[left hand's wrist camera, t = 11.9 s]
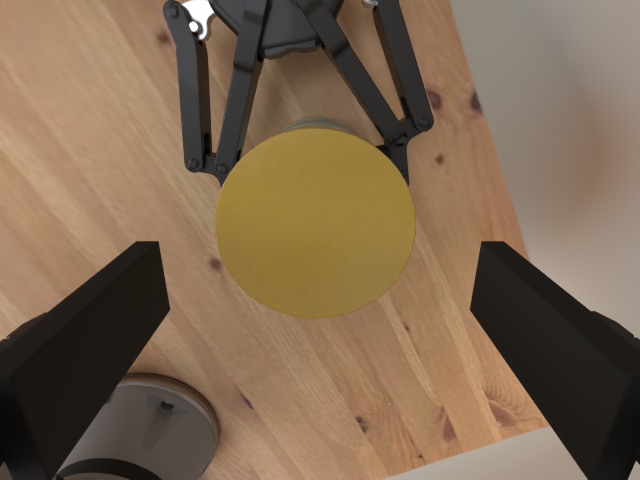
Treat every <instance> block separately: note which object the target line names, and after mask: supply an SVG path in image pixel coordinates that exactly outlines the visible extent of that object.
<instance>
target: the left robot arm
mask: <svg viewBox="0 0 640 480" xmlns="http://www.w3.org/2000/svg"><path fill="white" fill-rule="evenodd" d="M169 311H170V306H169V300H168V294H167V288H166V283H165V277H164V271H163V265H162V259H161V253H160V248H159V242H158V241H136V242H135V243H134V244H133V245H131V246H130V247H129V248H128V249H126V250H125V251H124V252H123V253H121V254H120V255H119V256H118V257H116V258H115V259H114V260H113V261H111V262H110V263H109V264H108V265H106V266H105V267H104V268H103V269H101V270H100V271H99V272H98V273H96V274H95V275H94V276H93V277H91V278H90V279H89V280H88V281H86V282H85V283H84V284H83V285H81V286H80V287H79V288H78V289H76V290H75V291H74V292H73V293H71V294H70V295H69V296H68V297H66V298H65V299H64V300H63V301H61V302H60V303H59V304H58V305H56V306H55V307H54V308H53V309H51V310H50V311H49V312H48V313H44V314H42V315H40V316H38V317H36V318H34V319H32V320H30V321H28V322H26V323H24V324H22V325H21V326H20V327H18V328H17V329H16V330H15V331H13V332H12V333H11V334H9V335H8V336H7V339H3V340H2V341H0V480H198V479H199V477H201V476H202V474H203V473H204V471H205V470H206V469H207V468H208V466H209V464H210V463H211V461H212V459H213V457H214V454H215V450H216V447H217V443H218V440H219V424H218V420H217V417H216V415H215V413H214V411H213V409H212V408H211V406H210V405H209V404H208V402H207V401H206V400H205V399H204V398H203V397H202V396H201V395H200V394H199V393H197V392H196V391H195V390H193V389H192V388H190V387H188V386H187V385H185V384H183V383H181V382H179V381H176V380H174V379H171V378H168V377H164V376H160V375H154V374H129V375H125V374H126V373H127V371H128V370H129V368H130V367H131V365H132V364H133V362H134V361H135V360H136V358H137V357H138V355H139V354H140V352H141V351H142V350H143V348H144V347H145V345H146V344H147V342H148V341H149V339H150V338H151V337H152V335H153V334H154V332H155V331H156V329H157V328H158V327H159V325H160V324H161V322H162V321H163V319H164V318H165V316H166V315H167V314H168V312H169ZM470 311H471V312H472V314H473V315H474V316H475V318H476V319H477V321H478V322H479V324H480V325H481V327H482V328H483V329H484V331H485V332H486V334H487V335H488V337H489V338H490V339H491V341H492V342H493V344H494V345H495V347H496V348H497V350H498V351H499V352H500V354H501V355H502V357H503V358H504V360H505V361H506V362H507V364H508V365H509V367H510V368H511V370H512V371H513V373H514V374H515V375H516V377H517V378H518V380H519V381H520V383H521V384H522V385H523V387H524V388H525V390H526V391H527V393H528V394H529V396H530V397H531V398H532V400H533V401H534V403H535V404H536V406H537V407H538V408H539V410H540V411H541V413H542V414H543V416H544V417H545V419H546V420H547V421H548V423H549V424H550V426H551V427H552V429H553V430H554V431H555V433H556V434H557V436H558V437H559V438H560V440H561V441H562V443H563V444H564V446H565V447H566V449H567V450H568V452H569V453H570V454H571V456H572V457H573V459H574V460H575V462H576V463H577V465H578V466H579V467H580V469H581V470H582V472H583V473H584V475H585V476H586V477H587V479H588V480H628V477H629V475H630V473H631V471H632V468H633V466H634V464H635V461H637V462H638V463H639V464H640V340H639V339H638V338H634V335H633V334H632V333H630V332H629V331H628V330H626V329H625V328H624V327H622V326H621V325H620V324H619V323H617V322H616V321H614V320H611V319H610V318H608V317H605V316H604V315H602V314H600V313H598V312H596V311H590V310H589V309H587V308H586V307H585V306H584V305H582V304H581V303H580V302H579V301H577V300H576V299H575V298H574V297H572V296H571V295H570V294H569V293H567V292H566V291H565V290H564V289H562V288H561V287H560V286H559V285H557V284H556V283H555V282H554V281H552V280H551V279H550V278H549V277H547V276H546V275H545V274H544V273H542V272H541V271H540V270H539V269H537V268H536V267H535V266H534V265H532V264H531V263H530V262H529V261H527V260H526V259H525V258H524V257H522V256H521V255H520V254H519V253H517V252H516V251H515V250H514V249H512V248H511V247H510V246H509V245H507V244H506V243H505V242H504V241H482V242H481V248H480V253H479V259H478V265H477V271H476V277H475V283H474V288H473V294H472V300H471V306H470ZM58 470H59V471H58Z"/></svg>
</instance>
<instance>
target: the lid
mask: <svg viewBox="0 0 640 480" xmlns="http://www.w3.org/2000/svg"><path fill="white" fill-rule="evenodd" d="M415 232H416V216H415V208H414V203H413V200H412V196H411V193H410V190H409V188H408V186H407V183H406V181H405V180H404V178H403V176H402V175H401V173H400V171H399V170H398V169H397V167H396V166H395V165H394V164H393V163H392V161H391V160H390V159H389V158H388V157H387V156H385V155H384V154H383V153H382V152H381V151H380V150H379V149H378V148H376V147H375V146H374V145H373V144H371V143H370V142H368V141H367V140H365V139H364V138H362V137H360V136H358V135H356V134H354V133H351V132H348V131H345V130H342V129H339V128H334V127H328V126H302V127H297V128H292V129H288V130H285V131H282V132H280V133H277V134H274V135H273V136H271V137H269V138H267V139H265V140H263V141H262V142H261V143H259V144H258V145H257V146H255V147H254V148H253V149H251V150H250V151H249V152H248V153H247V154H246V155H245V156H244V157H243V158H242V159H241V160H240V161H239V162H238V163H237V164H236V165H235V167H234V168H233V169H232V170H231V172H230V173H229V175H228V177H227V178H226V180H225V182H224V184H223V186H222V189H221V191H220V194H219V197H218V201H217V205H216V210H215V236H216V241H217V246H218V249H219V252H220V255H221V258H222V260H223V262H224V264H225V266H226V268H227V270H228V271H229V273H230V274H231V276H232V277H233V279H234V280H235V281H236V282H237V283H238V285H239V286H240V287H241V288H242V289H243V290H244V291H245V292H247V293H248V294H249V295H250V296H251V297H252V298H254V299H255V300H257V301H258V302H260V303H261V304H263V305H265V306H267V307H269V308H271V309H273V310H276V311H278V312H281V313H284V314H287V315H291V316H295V317H302V318H330V317H335V316H340V315H344V314H347V313H350V312H353V311H355V310H358V309H360V308H362V307H364V306H366V305H368V304H369V303H371V302H373V301H374V300H376V299H377V298H378V297H380V296H381V295H382V294H383V293H384V292H385V291H386V290H387V289H389V288H390V287H391V286H392V284H393V283H394V282H395V281H396V279H397V278H398V277H399V276H400V274H401V272H402V271H403V269H404V267H405V266H406V263H407V261H408V259H409V257H410V254H411V251H412V248H413V244H414V239H415Z"/></svg>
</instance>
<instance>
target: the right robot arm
mask: <svg viewBox="0 0 640 480" xmlns="http://www.w3.org/2000/svg"><path fill="white" fill-rule="evenodd" d="M343 2H344V0H191V1H188V2H185V3H182V4H180V3H179V2H177V1H175V0H169V1H167V2H166V3H165V5H164V6H163V14H164V17H165V20H166V22H167V25H168V27H169V30H170V32H171V35H172V37H173V40H174V43H175V45H176V52H177V66H178V80H179V94H180V107H181V121H182V135H183V149H184V162H185V167H186V168H187V169H188V170H189V171H190V172H194V173H196V172H203V173H209V174H212V175H214V176H215V177H217V179H218V180H219V182H220V186H221V189H222V186H223V184H224V182H225V180H226V178H227V177H228V175H229V173H230V172H231V170H232V169H233V168H234V167H235V165H236V164H237V163H238V162H239V161H240V158H241V154H242V149H243V145H244V140H245V136H246V132H247V127H248V123H249V118H250V114H251V110H252V105H253V101H254V96H255V92H256V88H257V83H258V79H259V75H260V73H261V70H262V66H263V62H264V58H268V59H269V60H271V59H276V58H281V57H283V56H285V55H287V54H289V53H291V52H300V53H307V52H312V51H316V49H317V48H319V47H320V46H321V47H322V49H323V50H324V52H325V53H326V55H327V56H328V58H329V59H330V60H331V61H332V63H333V64H334V66H335V67H336V69H337V70H338V72H339V73H340V75H341V76H342V78H343V79H344V81H345V82H346V84H347V85H348V87H349V88H350V90H351V91H352V93H353V94H354V96H355V97H356V99H357V100H358V102H359V103H360V105H361V106H362V108H363V109H364V111H365V112H366V114H367V115H368V117H369V118H370V120H371V121H372V123H373V124H374V126H375V127H376V129H377V130H378V132H379V133H380V135H381V136H382V138H383V139H384V145H379V146H375V147H376V148H378V149H379V150H380V151H381V152H382V153H383V154H384V155H385V156H387V157H388V158H389V159H390V160H391V161H392V163H393V164H394V165H395V166H396V167H397V169H398V170H399V171H400V173H401V175H402V176H403V178H404V180H405V181H406V183H407V186H409V176H408V164H407V152H406V147H407V144H408V142H409V140H410V139H411V138H413V137H414V136H416V135H418V134H420V133H421V132H425V131H428V130H429V129H431V127H432V126H433V123H434V118H433V115H432V111H431V108H430V105H429V101H428V98H427V95H426V91H425V88H424V85H423V81H422V78H421V75H420V71H419V68H418V65H417V61H416V58H415V55H414V51H413V48H412V45H411V41H410V38H409V35H408V31H407V28H406V25H405V21H404V18H403V15H402V11H401V8H400V5H399V0H361V3H362V4H363V6H364V7H365V8H368V9H372V12H373V18H374V23H375V27H376V30H377V33H378V36H379V39H380V42H381V45H382V48H383V51H384V54H385V57H386V61H387V64H388V67H389V70H390V73H391V76H392V79H393V82H394V85H395V88H396V91H397V94H398V97H399V100H400V103H401V107H402V110H403V113H404V116H405V117H404V118H402V119H401V120H399V121H398V119H397V118H396V116H395V115H394V113H393V112H392V110H391V109H390V107H389V105H388V104H387V102H386V101H385V99H384V98H383V96H382V94H381V93H380V91H379V90H378V88H377V87H376V85H375V84H374V82H373V80H372V79H371V77H370V76H369V74H368V73H367V71H366V70H365V68H364V66H363V65H362V63H361V62H360V60H359V59H358V57H357V56H356V54H355V52H354V51H353V49H352V48H351V46H350V44H349V42H348V40H347V38H346V36H345V35H344V33H343V31H342V30H341V28H340V27H339V25H338V24H337V22H336V21H335V20H336V18H337V16H338V13H339V11H340V9H341V7H342V4H343ZM217 16H218V17H219V18H220V19H221V20H222V21H223V22H224V23H225V24H226V25H227V26H228V27H229V28H230V29H231V30H232V31H233V32H234V34H235V35H236V36H237V37H238V40H237V45H236V50H235V55H234V62H233V65H234V69H233V75H232V79H231V84H230V89H229V94H228V99H227V104H226V109H225V114H224V119H223V124H222V129H221V134H220V139H219V143H218V148H217V153H214V152H212V136H211V114H210V92H209V70H208V55H207V49H206V44H205V42H206V41H207V40H208V39H209V38H210V36H211V22H212V20H213V19H214V18H215V17H217Z"/></svg>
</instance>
